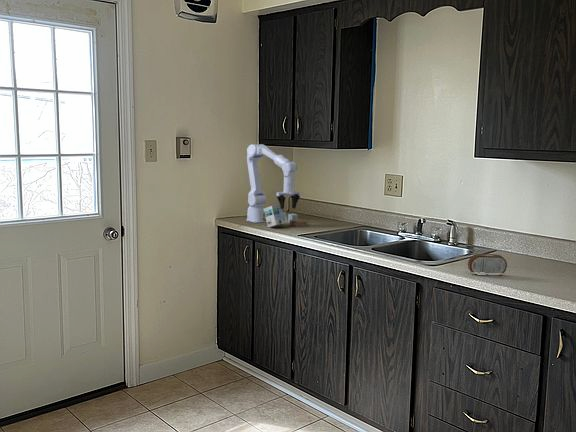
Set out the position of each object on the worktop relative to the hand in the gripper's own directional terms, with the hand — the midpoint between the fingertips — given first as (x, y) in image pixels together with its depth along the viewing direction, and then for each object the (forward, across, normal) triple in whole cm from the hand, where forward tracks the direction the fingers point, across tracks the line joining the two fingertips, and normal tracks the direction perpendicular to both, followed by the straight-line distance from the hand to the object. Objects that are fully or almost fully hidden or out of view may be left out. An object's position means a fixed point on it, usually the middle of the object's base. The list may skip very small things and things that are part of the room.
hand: (288, 208), depth 331 cm
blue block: (+10, +11, +10) cm, 18 cm away
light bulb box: (+9, -6, 0) cm, 11 cm away
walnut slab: (+10, +9, +2) cm, 14 cm away
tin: (+10, +10, -124) cm, 125 cm away
